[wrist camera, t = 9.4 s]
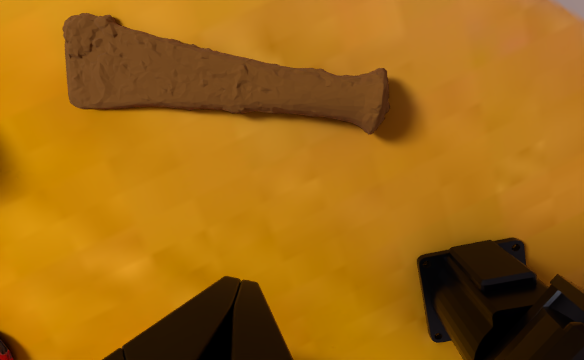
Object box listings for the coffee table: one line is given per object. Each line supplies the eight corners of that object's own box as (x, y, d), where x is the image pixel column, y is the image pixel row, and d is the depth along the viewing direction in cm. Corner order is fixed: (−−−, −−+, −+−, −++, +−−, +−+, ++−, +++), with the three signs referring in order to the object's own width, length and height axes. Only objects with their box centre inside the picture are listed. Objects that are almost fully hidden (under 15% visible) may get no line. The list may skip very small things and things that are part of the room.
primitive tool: (74, 107, 20) (28, 107, 17) (68, 13, 19) (16, -7, 16) (377, 134, 20) (392, 140, 17) (390, 39, 19) (409, 25, 15)
